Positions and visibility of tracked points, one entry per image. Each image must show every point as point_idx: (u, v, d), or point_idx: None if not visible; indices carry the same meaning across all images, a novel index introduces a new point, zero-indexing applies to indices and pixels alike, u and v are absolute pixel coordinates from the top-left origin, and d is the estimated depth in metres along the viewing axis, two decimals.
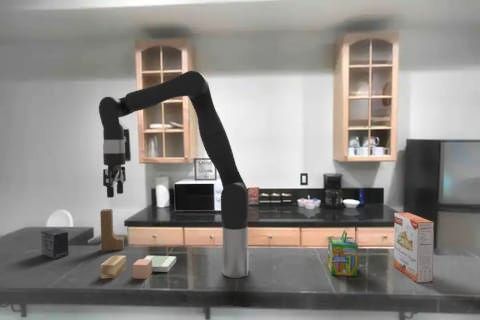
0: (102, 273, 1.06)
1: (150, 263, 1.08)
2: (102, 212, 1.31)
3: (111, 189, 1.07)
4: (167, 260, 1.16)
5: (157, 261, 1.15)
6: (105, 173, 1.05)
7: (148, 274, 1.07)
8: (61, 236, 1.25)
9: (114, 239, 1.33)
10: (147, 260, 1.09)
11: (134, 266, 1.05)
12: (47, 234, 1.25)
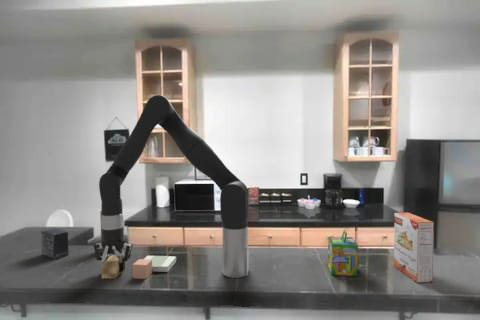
0: (103, 273, 1.05)
1: (150, 263, 1.08)
2: None
3: None
4: (167, 260, 1.16)
5: (157, 261, 1.15)
6: (129, 249, 1.08)
7: (148, 274, 1.07)
8: (61, 236, 1.25)
9: None
10: (147, 260, 1.09)
11: (134, 266, 1.05)
12: (47, 234, 1.25)
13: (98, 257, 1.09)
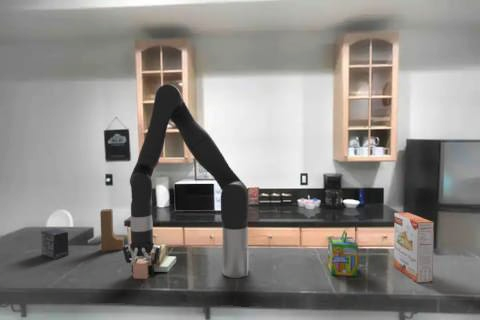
0: None
1: None
2: (102, 212, 1.31)
3: None
4: (167, 260, 1.16)
5: None
6: (159, 251, 1.06)
7: None
8: (61, 236, 1.25)
9: (114, 239, 1.33)
10: None
11: (134, 266, 1.05)
12: (47, 234, 1.25)
13: (127, 259, 1.07)
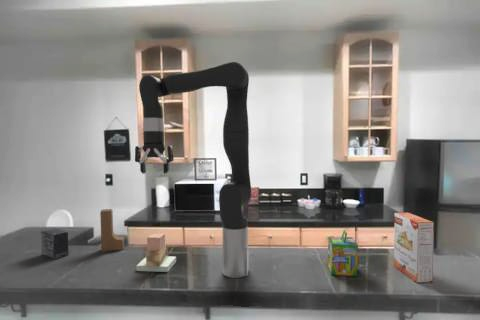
0: (148, 260, 1.11)
1: (163, 237, 1.16)
2: (102, 212, 1.31)
3: None
4: (167, 260, 1.16)
5: None
6: (171, 149, 1.12)
7: (161, 247, 1.14)
8: (61, 236, 1.25)
9: (114, 239, 1.33)
10: (160, 234, 1.16)
11: (148, 239, 1.13)
12: (47, 234, 1.25)
13: (136, 159, 1.13)
